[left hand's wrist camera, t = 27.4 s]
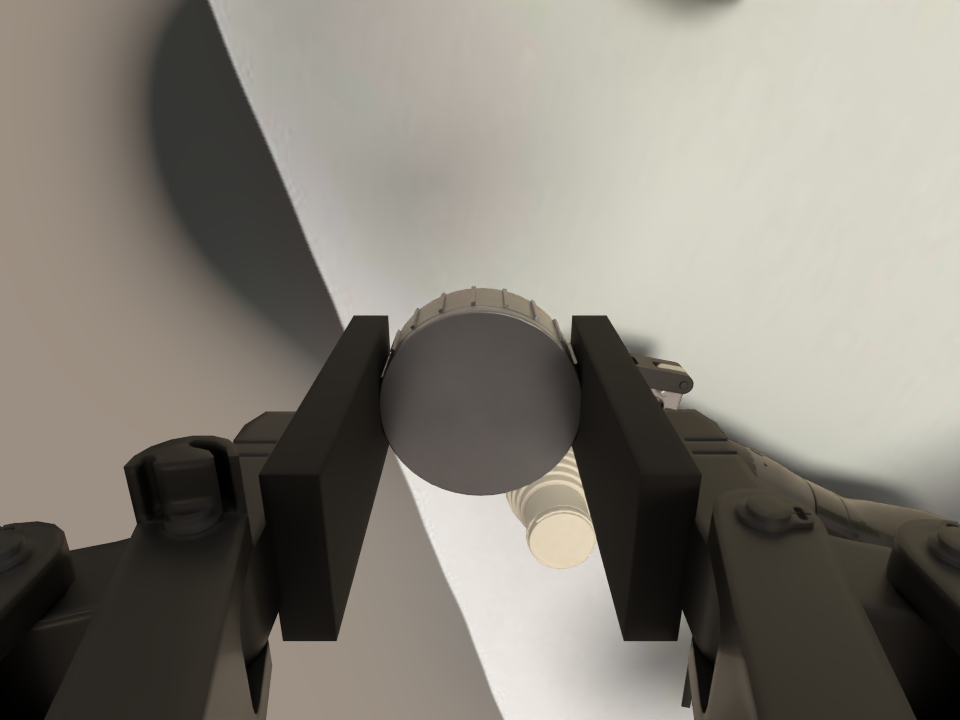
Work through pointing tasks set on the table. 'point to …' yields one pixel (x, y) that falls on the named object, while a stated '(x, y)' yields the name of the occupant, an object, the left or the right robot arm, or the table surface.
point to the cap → (480, 392)
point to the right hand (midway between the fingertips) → (498, 396)
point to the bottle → (556, 516)
